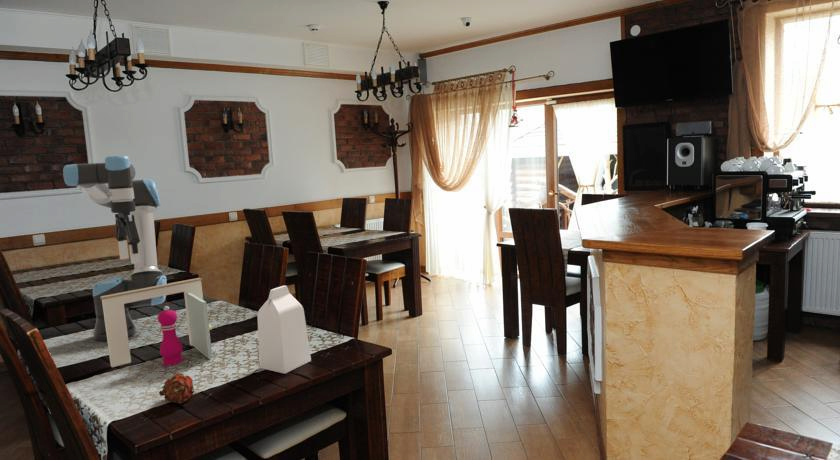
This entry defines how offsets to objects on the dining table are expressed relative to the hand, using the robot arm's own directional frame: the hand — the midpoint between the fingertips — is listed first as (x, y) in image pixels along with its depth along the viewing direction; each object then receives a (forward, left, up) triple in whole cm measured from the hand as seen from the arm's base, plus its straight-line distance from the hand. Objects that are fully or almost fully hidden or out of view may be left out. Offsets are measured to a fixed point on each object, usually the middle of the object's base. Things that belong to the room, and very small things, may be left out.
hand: (130, 260), depth 196 cm
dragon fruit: (+51, -5, -35) cm, 62 cm away
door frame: (+4, +6, -35) cm, 35 cm away
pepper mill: (+17, +5, -35) cm, 39 cm away
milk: (+50, +30, -35) cm, 68 cm away
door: (+15, +16, -34) cm, 41 cm away
